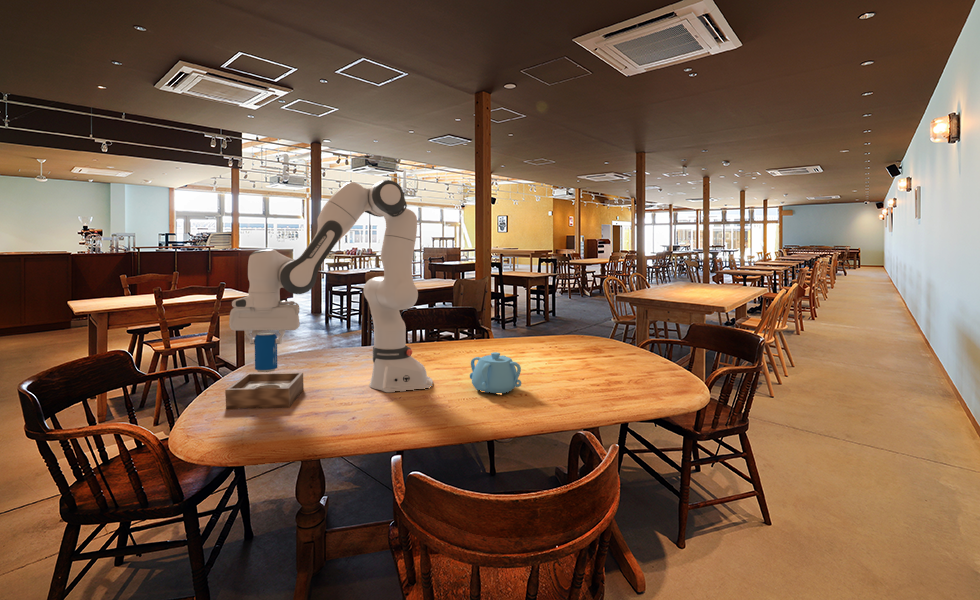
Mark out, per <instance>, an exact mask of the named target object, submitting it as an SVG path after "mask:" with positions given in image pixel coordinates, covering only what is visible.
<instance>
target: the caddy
mask: <svg viewBox="0 0 980 600" xmlns="http://www.w3.org/2000/svg"><path fill="white" fill-rule="evenodd" d="M304 388H305V387H304V372H257V373H255V372H254V373H246V374H245V375H243V376H242V377H240V378H239V379H238V380H237V381H235V382H234V383H232V384H231V385H230V386H229V387H227V388H225V390H224V392H225V410H242V409H244V408H249V409H279V408H280V409H281V408H282V407H283V408H284V407H287V408H290V407H291V405H292V404H293V403H295V401H296V400H297V398H298V397H299V396H300V394H301V393H302V392H303V391H304ZM238 408H240V409H238ZM241 408H242V409H241ZM244 410H245V409H244Z"/></svg>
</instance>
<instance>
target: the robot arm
mask: <svg viewBox="0 0 980 600" xmlns="http://www.w3.org/2000/svg"><path fill="white" fill-rule="evenodd" d="M407 207H408V205H407V202H406V198H405V195H404V191H403V188H402V187H401V185H400V184H399V183H398V182H396V181H394V180H390V179H383V180H380V181H378V182H376V183H375V184H373V185H372V186H370V187H369V188H366V187H363V186H362V185H361V184H359V183H357V182H354V181H349V182H345V183H344V184H343V185H341V187H339V188H338V189H337V191H336V192H334V194H332V195H331V197H330V198H329V199H328V200H327V202H326V203H325V205H324V206H323V207H322V209H321V211H320V213H319V215H318V216H317V221H316V222H317V230H316V232H315V233H316V234H315V235H314V237H312V238H313V239H312V240H311V241H310V243H309V244H308V245H307V247H306V248H305V249H304V250H303V252H302V254H301V255H300V256H299V257H297V259H294V258H291V257H289V256H286V255H285V254H282V253H280V252H279V251H278V250H276V249H275V248H274V249H272V248H268V249H260V250H255V251H254V252H252V253H250V255H249V257H248V262H247V263H248V264H247V278H248V279H247V280H248V281H249V288H248V295H246V296H245V295H244V296H242V297H240V298H237V299H233V300H232V301H231V306H232V309H231V310H230V312H229V318H228V319H229V324H228V325H229V328H230V330H231V331H244V333H245V335H246V337H247V339H248V340H249V345H255V337H254V336H253V334H252V333H253V331H278V334H280V335H279V336H278V337H277V338H276V339H275V341H276V344H277V345H282V343H283V337H284V335H285V334H286V331H296V330H298V329H299V327H300V325H301V324H300V315H299V313H300V305H299V304H298V303H297V302H295V300H289V301H288V300H287V301H286V300H281V295H280V290H281V288H283V289H284V290H286V292H289V293H291V294H293V295H304V294H306V293H308V292H309V291H311V290H312V289H313V287H314V286H315V284H316V282H317V278H318V272H319V270H320V267H321V266H322V264H323V262H325V260H326V258H327V257H328V255H329V254H330V253H331V251H332V250H333V248H334V247H335V245H337V243H338V242H339V241H340V240H341V239H343V237H344V236H346V234H347V233H348V232H349V231H350V230H351V229H352V228H353V227H354V225H355V224H356V223H357V222H358V220H359V219H360V217H361V216H362V215H363V214H364V213H365V214H366V213H367V214H369V215H371V216H374V217H377V218H384V221H385V231H384V235H383V241H382V247H381V251H380V260H381V262H382V265H383V275H382V276H381V275H380V276H375V277H372V278H370V279H368V280H367V281H366V282H365V284H364V286H363V296H364V298H365V300H367V303H368V306H369V310H370V314H371V317H372V322H373V323H372V324H373V347H372V362H373V366H372V375H371V378H370V382H369V387H370V388H371V389H375V390H379V391H382V392H383V393H396V392H395V391H400V392H407V391H406V390H413V391H415V390H414V389H424V388H429V387H430V386H432V387H433V385H434V383H433V382H434V381H433V379H432V378H431V377H430V376H429V375H427V370H426V367H425V366H424V363H423V364H422V363H421V362H420V361H419V360H417V359H416V358H414V357H413V356H412V354H413V350H412V348H411V346H408V345H407V344H406V343H407V342H406V339H407V338H406V334H407V333H406V330H407V329H406V328H407V327H406V323H405V320H403V318H402V316H401V315H402V314H401V312H400V311H402V310H410V309H411V308H413V307H414V305H416V303H417V301H418V297H419V292H418V291H419V290H418V288H417V287H416V284H415V282H414V275H413V257H414V253H415V245H416V239H417V231H418V217H417V215H416V213H415V212H414V211H413V210H411V209H409V208H407ZM432 384H433V385H432ZM429 389H430V388H429Z"/></svg>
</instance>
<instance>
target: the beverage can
mask: <svg viewBox="0 0 980 600" xmlns="http://www.w3.org/2000/svg"><path fill="white" fill-rule="evenodd" d="M254 338H255V344H254V370H255V371H257V373H272V372H275V371H276V369H278V344H276V341H275V339H276V338H278V336H277V335H276V332H270V331H269V332H267V331H266V332H265V331H264V332H257V333H255V336H254Z"/></svg>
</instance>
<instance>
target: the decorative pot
mask: <svg viewBox="0 0 980 600" xmlns="http://www.w3.org/2000/svg"><path fill="white" fill-rule="evenodd" d="M475 361H477V363H476V362H475ZM475 363H476V364H475ZM470 367H471V373H470V374H469V379H471V384H472V386H473V387H474V389H475V390H477V391H479V390H481V391H485V392H484V393H489V392H490V393H489V394H491V393H492V394H495V393H503V394H506V392H507V393H510V392H511V391H513V390H514V389H515V388H520V387H521V386H522V381H521V379H519V377H520V374H521V372H522V371H521V370H522V366H521V365H520V364H519V363H518V362H516V361H514V360H513V359H512V358H511V357H508V356H506V355H501V353H500V352H497V351H496V352H490V354H488V355H484V356H482V357H480V356H475V357H473V358H472V359H471V360H470ZM512 389H513V390H512ZM509 391H510V392H509Z"/></svg>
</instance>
